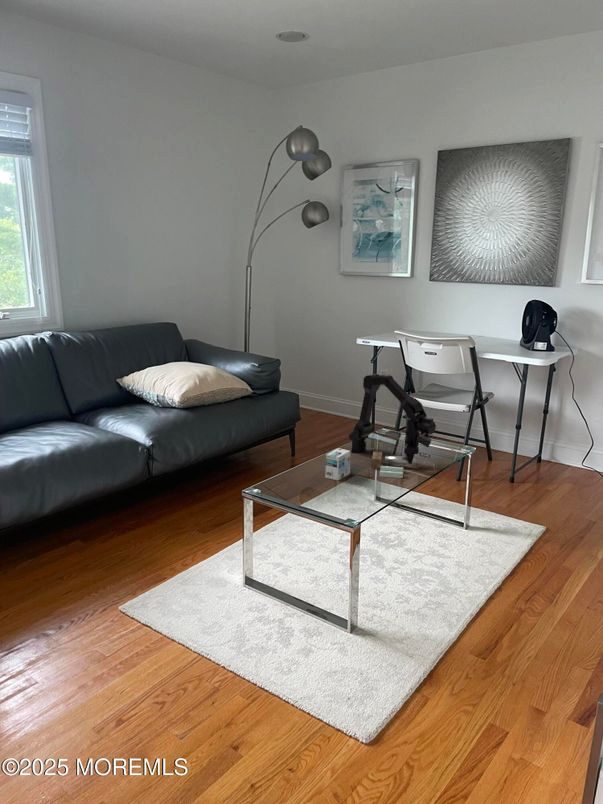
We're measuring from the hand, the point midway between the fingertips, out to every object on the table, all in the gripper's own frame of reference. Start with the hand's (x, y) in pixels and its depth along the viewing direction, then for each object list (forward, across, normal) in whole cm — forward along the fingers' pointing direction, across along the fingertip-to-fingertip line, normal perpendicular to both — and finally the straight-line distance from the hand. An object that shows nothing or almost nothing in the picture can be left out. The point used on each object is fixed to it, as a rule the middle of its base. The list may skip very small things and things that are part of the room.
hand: (410, 462), depth 277 cm
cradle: (+3, -10, +8) cm, 13 cm away
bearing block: (+3, 0, +15) cm, 15 cm away
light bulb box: (+3, -16, +31) cm, 35 cm away
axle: (+1, 0, +4) cm, 5 cm away
